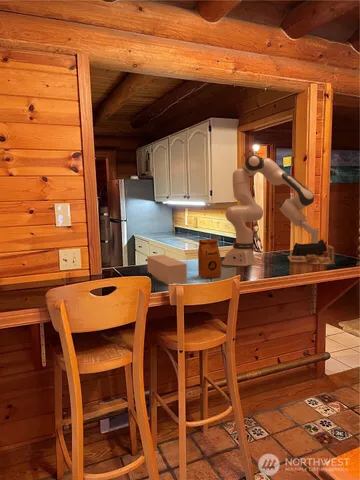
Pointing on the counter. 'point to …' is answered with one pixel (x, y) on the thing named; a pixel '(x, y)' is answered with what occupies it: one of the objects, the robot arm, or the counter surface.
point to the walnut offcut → (311, 260)
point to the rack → (326, 258)
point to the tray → (297, 260)
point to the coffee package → (209, 259)
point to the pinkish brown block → (167, 269)
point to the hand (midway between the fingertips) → (314, 235)
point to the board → (315, 238)
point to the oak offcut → (311, 256)
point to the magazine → (309, 249)
